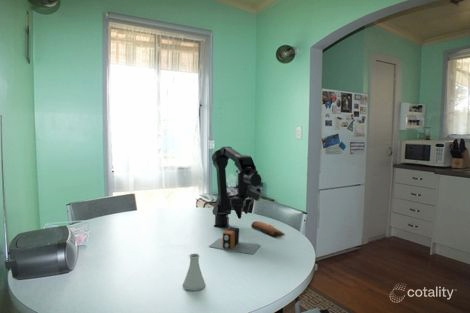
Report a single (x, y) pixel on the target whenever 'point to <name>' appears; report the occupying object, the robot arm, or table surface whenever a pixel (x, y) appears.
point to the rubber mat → (237, 246)
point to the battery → (230, 238)
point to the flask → (194, 275)
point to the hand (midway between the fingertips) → (243, 216)
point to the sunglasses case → (267, 228)
